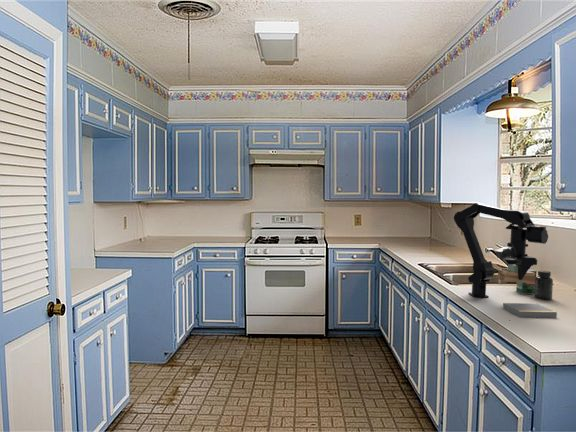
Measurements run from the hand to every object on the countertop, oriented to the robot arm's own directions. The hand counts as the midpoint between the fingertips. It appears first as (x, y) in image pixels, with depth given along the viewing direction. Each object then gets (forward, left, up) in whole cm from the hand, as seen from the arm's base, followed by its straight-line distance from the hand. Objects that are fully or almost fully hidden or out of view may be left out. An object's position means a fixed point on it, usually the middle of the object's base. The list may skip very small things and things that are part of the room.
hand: (515, 278), depth 176 cm
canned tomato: (-21, +17, -11) cm, 29 cm away
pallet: (0, 0, -1) cm, 1 cm away
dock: (+12, -1, -11) cm, 16 cm away
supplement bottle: (-11, +19, -11) cm, 25 cm away
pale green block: (0, 0, +3) cm, 3 cm away
